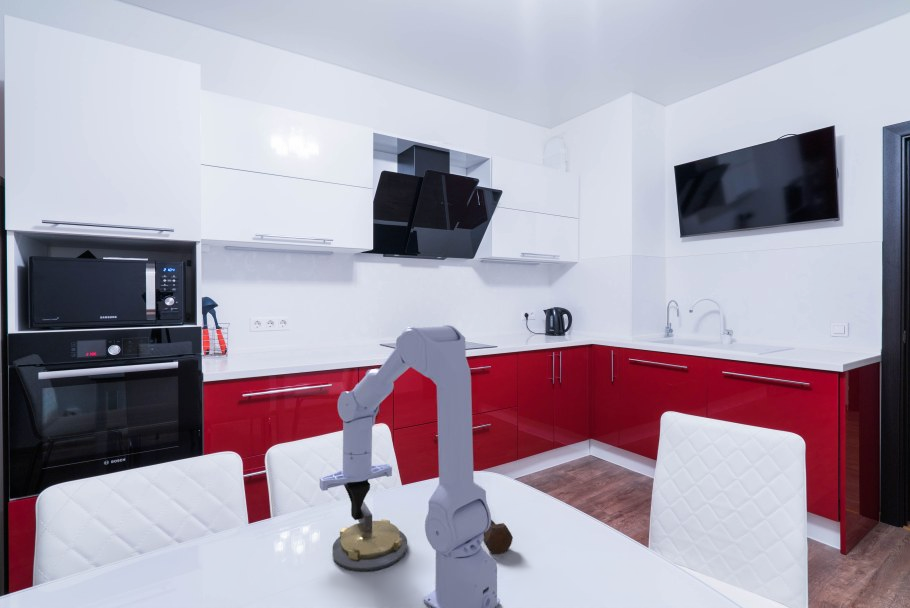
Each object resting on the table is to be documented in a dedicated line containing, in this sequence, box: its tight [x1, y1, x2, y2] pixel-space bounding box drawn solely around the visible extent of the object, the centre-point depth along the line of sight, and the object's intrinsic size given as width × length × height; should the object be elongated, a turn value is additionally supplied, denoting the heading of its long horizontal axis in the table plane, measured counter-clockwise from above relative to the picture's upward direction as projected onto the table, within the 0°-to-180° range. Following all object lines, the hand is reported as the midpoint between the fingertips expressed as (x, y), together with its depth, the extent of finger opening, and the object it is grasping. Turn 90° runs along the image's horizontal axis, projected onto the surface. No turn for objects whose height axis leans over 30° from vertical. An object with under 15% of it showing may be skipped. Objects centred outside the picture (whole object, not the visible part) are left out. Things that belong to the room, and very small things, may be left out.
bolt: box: [483, 519, 514, 556], centre depth 92 cm, size 6×5×15 cm
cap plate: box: [332, 530, 408, 573], centre depth 86 cm, size 14×14×1 cm
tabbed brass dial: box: [339, 501, 402, 560], centre depth 86 cm, size 12×12×4 cm
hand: (356, 517), depth 90 cm, fingers closed, pressing on tabbed brass dial
